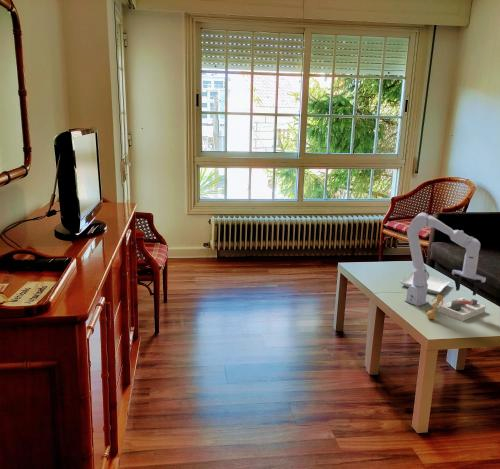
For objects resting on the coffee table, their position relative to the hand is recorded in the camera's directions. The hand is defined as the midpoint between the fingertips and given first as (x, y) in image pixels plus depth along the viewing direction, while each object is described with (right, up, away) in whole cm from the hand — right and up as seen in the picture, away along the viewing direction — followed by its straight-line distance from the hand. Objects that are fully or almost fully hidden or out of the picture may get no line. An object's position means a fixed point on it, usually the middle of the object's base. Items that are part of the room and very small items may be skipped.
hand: (465, 292), depth 212 cm
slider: (+5, -6, +3) cm, 9 cm away
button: (-6, -7, -2) cm, 10 cm away
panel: (-1, -9, +2) cm, 10 cm away
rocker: (-1, -5, +1) cm, 5 cm away
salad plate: (-6, -1, +34) cm, 34 cm away
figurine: (-19, -11, -7) cm, 23 cm away
